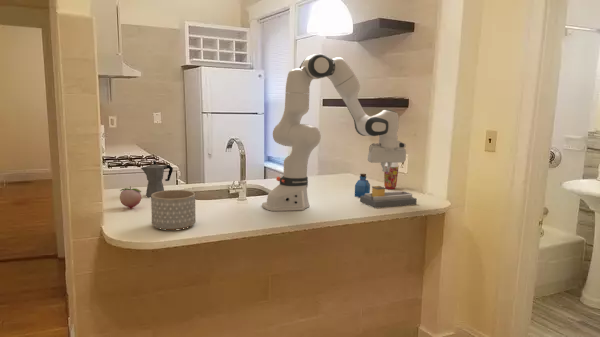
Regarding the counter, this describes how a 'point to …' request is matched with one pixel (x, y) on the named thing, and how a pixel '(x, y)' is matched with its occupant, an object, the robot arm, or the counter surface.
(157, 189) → the coffeepot
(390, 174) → the smoothie
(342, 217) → the counter surface
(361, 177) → the perfume bottle
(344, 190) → the counter surface
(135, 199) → the decorative fruit
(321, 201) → the counter surface
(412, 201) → the grey tray
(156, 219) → the planter
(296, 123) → the robot arm
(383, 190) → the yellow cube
